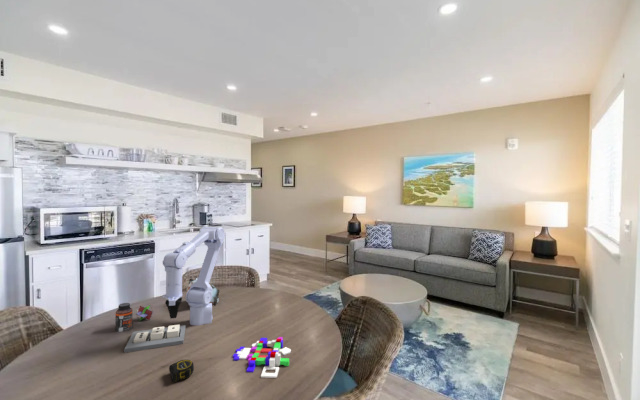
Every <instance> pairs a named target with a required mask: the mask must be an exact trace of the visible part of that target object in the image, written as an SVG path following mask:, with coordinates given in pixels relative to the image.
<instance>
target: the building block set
mask: <svg viewBox="0 0 640 400" xmlns="http://www.w3.org/2000/svg"><path fill="white" fill-rule="evenodd" d="M283 338H284V337H283V336H278V337H277V338H276V339H272V340H268V338H267V337H260V339H259V340H257V341H256V342H255V343H254V342H253V343H252V344H251V347H245V346H240V347H239V348H237V349H236V350H235V353H233V355H232V359H233V361H239V360H247V365H248V366H247V368H246V373H254V371H255V369H256V366H261V365H264V367H263V369H262V371H261V374H260V379H261V378H262V379H263V378H266V379H269V378H270V379H277V377H278V375H279V371H280V367H281V366H282V365H283V366H284V367H289V366H290V358H289V357H288V358H287V357H285V358H284V357H282V355H283V356H286V355H289V354H291V351H292V349H291V348H289V347H287V346H285V347H284V339H283ZM268 347H269V348H268ZM262 353H263V355H262ZM265 354H267V355H265ZM279 366H280V367H279ZM266 371H275V372H266Z"/></svg>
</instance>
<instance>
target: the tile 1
mask: <svg viewBox="0 0 640 400" xmlns="http://www.w3.org/2000/svg"><path fill="white" fill-rule="evenodd" d="M164 328H166V327H165V326H158V327H152V329H153V330H152V332H151V339H150V341H153V340H160V339H164V337H165V335H164Z"/></svg>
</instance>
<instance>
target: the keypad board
mask: <svg viewBox="0 0 640 400" xmlns="http://www.w3.org/2000/svg"><path fill="white" fill-rule="evenodd" d="M168 327H169V326H168ZM168 327H165V328H164V338H163V339H160V340H153V341H150V339H151V332H152V330H153V328H152V329H145V330H144V329H143V330H138V331H133V332H132V333H131V335H130V338H129V340H128V341H127V343H126V346H125V347H124V350H123V351H124V353H130V352H131V353H132V352H138V351H145V350H151V349H152V350H153V349H158V348H165V347H171V346H178V345H184V340H185V332H186V325H185V324H184V325H180V333H179V337H175V338H168V339H167V330H168ZM148 331H149V338H148V340H147V341H146V342H139V343H134V338H135V336H136V334H137V333H141V332H148Z"/></svg>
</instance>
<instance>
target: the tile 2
mask: <svg viewBox="0 0 640 400" xmlns="http://www.w3.org/2000/svg"><path fill="white" fill-rule="evenodd" d="M180 326H181V325H180V323H179V324H174V325H172V324H171V325H168V330H167V337H166V339H168V338H175V337H180Z"/></svg>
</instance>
